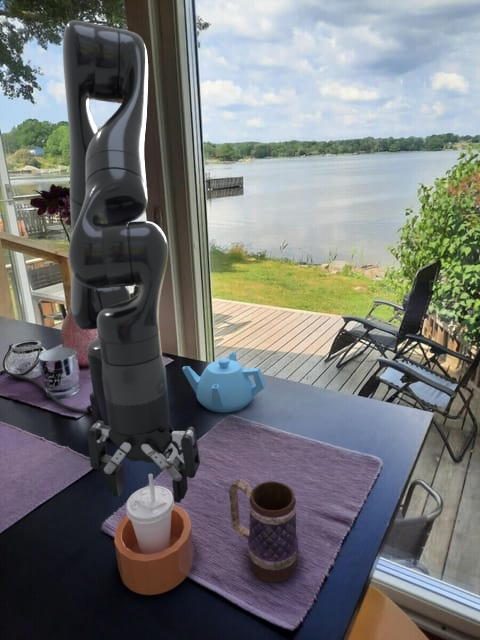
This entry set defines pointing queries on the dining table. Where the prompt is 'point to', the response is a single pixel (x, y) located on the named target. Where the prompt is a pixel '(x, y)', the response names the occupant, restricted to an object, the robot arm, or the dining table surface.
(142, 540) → the smoothie
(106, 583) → the dining table surface
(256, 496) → the mug
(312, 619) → the dining table surface
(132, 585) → the bottle stand
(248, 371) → the teapot
